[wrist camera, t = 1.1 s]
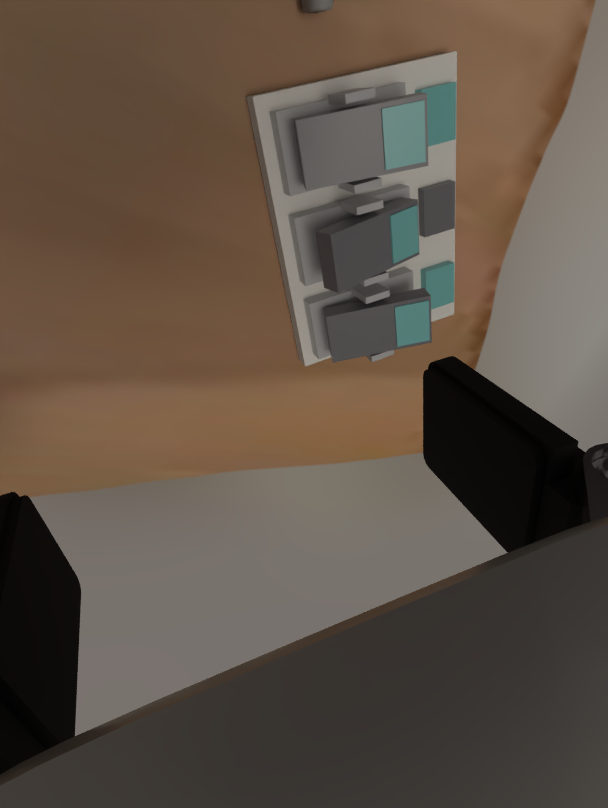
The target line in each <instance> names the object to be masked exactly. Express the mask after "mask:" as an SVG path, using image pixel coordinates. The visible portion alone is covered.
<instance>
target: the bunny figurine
mask: <svg viewBox="0 0 608 808" xmlns="http://www.w3.org/2000/svg"><path fill="white" fill-rule="evenodd" d="M333 1H334V0H301V3H302V8H303V12H308V13H318V12H322V11H326V10H330V9H332V5H333Z"/></svg>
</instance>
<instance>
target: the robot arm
mask: <svg viewBox="0 0 608 808" xmlns="http://www.w3.org/2000/svg"><path fill="white" fill-rule="evenodd" d="M577 446H578V441H577V440H576V439H574V438H573V437H571V436H570V435H568V434H567V433H565V432H564V431H562V430H561V429H560V428H558V427H557V426H555V425H554V424H552V423H550V422H549V421H548V420H546V419H545V418H543V417H542V416H541V415H539V414H538V413H536V412H535V411H533V410H532V409H530V408H529V407H527V406H526V405H524V404H523V403H522V402H520V401H519V400H517V399H515V398H514V397H513V396H511V395H510V394H508V393H507V392H505V391H504V390H503V389H501V388H499V387H498V386H497V385H495V384H494V383H492V382H491V381H489V380H488V379H487V378H485V377H484V376H482V375H481V374H479V373H478V372H476V371H475V370H473V369H472V368H471V367H469V366H468V365H466V364H465V363H463V362H462V361H460V360H459V359H457V358H456V357H454V356H450V357H447V358H444V359H441V360H437V361H434V362H431V363H430V364H429V367H428V370H425V371H424V375H423V454H424V459H425V462H426V464H427V465H428V467H429V468H430V469H431V470H432V471H433V473H434V474H435V475H436V476H437V477H438V478H439V479H440V480H441V481H442V482H443V483H444V484H445V485H446V487H448V489H449V490H450V491H451V492H452V493H453V494H454V495H455V496H456V497H457V498H458V500H459V501H460V502H462V504H463V505H464V506H465V507H466V508H467V509H468V510H469V511H470V512H471V514H472V515H473V516H474V517H475V518H476V519H477V520H478V521H479V522H480V523H481V524H482V525H483V527H484V528H485V529H486V530H487V531H488V532H489V533H490V534H491V535H492V536H493V537H494V538H495V539H496V541H497V542H498V543H499V544H500V545H501V546H502V547H503V548H504V549H505V550H506V551H507V552H508V553H506V554H504V555H501V556H499V557H497V558H494V559H492V560H489V561H487V562H485V563H482V564H480V565H477V566H475V567H472V568H470V569H468V570H465V571H463V572H460V573H458V574H456V575H453V576H451V577H448V578H446V579H443V580H441V581H439V582H436V583H434V584H431V585H429V586H427V587H424V588H422V589H419V590H417V591H414V592H412V593H410V594H407V595H405V596H403V597H400V598H397V599H395V600H393V601H391V602H388V603H386V604H383V605H381V606H379V607H376V608H374V609H371V610H369V611H367V612H364V613H362V614H359V615H357V616H354V617H352V618H350V619H347V620H345V621H343V622H340V623H338V624H335V625H333V626H331V627H328V628H326V629H324V630H321V631H319V632H316V633H314V634H312V635H309V636H307V637H304V638H302V639H300V640H297V641H295V642H293V643H290V644H288V645H286V646H283V647H281V648H279V649H276V650H274V651H272V652H269V653H267V654H264V655H262V656H260V657H257V658H255V659H253V660H250V661H248V662H245V663H243V664H241V665H238V666H236V667H234V668H231V669H229V670H227V671H224V672H222V673H220V674H217V675H215V676H213V677H210V678H208V679H206V680H203V681H201V682H199V683H196V684H194V685H191V686H189V687H187V688H184V689H182V690H180V691H177V692H175V693H173V694H170V695H168V696H166V697H163V698H161V699H158V700H156V701H154V702H152V703H149V704H147V705H145V706H143V707H141V708H138V709H136V710H134V711H131V712H129V713H127V714H125V715H122V716H120V717H118V718H116V719H113V720H111V721H109V722H106V723H104V724H102V725H100V726H97V727H95V728H93V729H91V730H88V731H86V732H84V733H82V734H79V735H77V736H75V717H76V695H77V672H78V649H79V648H78V647H79V628H80V604H81V588H80V583H79V580H78V578H77V576H76V574H75V572H74V571H73V569H72V567H71V566H70V564H69V562H68V561H67V559H66V557H65V556H64V554H63V552H62V551H61V549H60V547H59V546H58V544H57V543H56V541H55V539H54V537H53V536H52V534H51V532H50V531H49V529H48V527H47V526H46V524H45V522H44V521H43V519H42V518H41V516H40V514H39V513H38V511H37V509H36V508H35V506H34V504H33V503H32V501H31V499H30V498H29V497H28V496H26V495H24V496H21V497H19V496H18V494H16V493H15V492H11V493H7V494H4V495H1V496H0V808H608V443H604V444H599V445H595V446H593V447H591V448H589V449H588V450H587V451H586V452H584V451H582V450H581V449H580V448H578V447H577Z"/></svg>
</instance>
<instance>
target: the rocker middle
mask: <svg viewBox="0 0 608 808" xmlns="http://www.w3.org/2000/svg"><path fill="white" fill-rule="evenodd" d="M383 206H384V208H381V209H378V210H374V211H371V212H367V213H364V214H361V215H356V216H353V217H351V218H348V219H346V220H343V221H341V222H338V223H336V224H333V225H331V226H328V227H326V228H323V229H321V230H318V231H316V238H317V244H318V251H319V258H320V264H321V271H322V277H323V284H324V288H326V289H329V290H331V291H334V292H337V293H340V292H342V291H344V290H346V289H348V288H350V287H352V286H354V285H356V284H359V283H361V282H363V281H365V280H367V279H369V278H371V277H373V276H375V275H377V274H380V273H382V272H384V271H386V270H388V269H390V268H392V267H394V266H396V265H399V264H401V263H403V262H405V261H407V260H409V259H411V258H413V257H415V256H418V255H419V224H418V199H410V198H402V197H401V198H399V199H396V200H394V201H391V202H389V203H386V204H384V205H383Z"/></svg>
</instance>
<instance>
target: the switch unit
mask: <svg viewBox="0 0 608 808" xmlns="http://www.w3.org/2000/svg"><path fill="white" fill-rule="evenodd" d="M456 91H457V51H454V52H446V53H441V54H436V55H432V56H427V57H423V58H418V59H414V60H409V61H405V62H400V63H396V64H391V65H387V66H382V67H378V68H373V69H369V70H364V71H360V72H355V73H351V74H346V75H342V76H337V77H333V78H328V79H324V80H319V81H315V82H310V83H306V84H301V85H297V86H292V87H288V88H283V89H279V90H274V91H270V92H265V93H261V94H256V95H252V96H247V97H246V99H247V104H248V108H249V113H250V118H251V123H252V128H253V133H254V138H255V143H256V148H257V153H258V158H259V163H260V168H261V173H262V178H263V183H264V188H265V193H266V198H267V203H268V208H269V213H270V218H271V222H272V227H273V232H274V237H275V242H276V247H277V252H278V257H279V262H280V267H281V272H282V277H283V282H284V287H285V292H286V297H287V302H288V307H289V312H290V317H291V322H292V327H293V332H294V337H295V341H296V346H297V351H298V356H299V360H300V361H301V362H302V363H303V364H304V366H308V365H311V364H314V363H316V362H319V361H322V360H325V359H328V358H331V354H330V349H329V342H328V336H327V330H326V323H325V317H324V311H323V308H327V307H332V306H337V305H342V304H347V303H352V302H357V301H363V302H364V303H365V304H368V303H371V302H374V301H377V300H380V299H383V298H386V297H389V296H390V295H391V294H396V293H401V292H406V291H411V290H416V289H420V288H425V289H426V291H427V292H428V293H429V294H430V295H431V322H433V321H436V320H439V319H442V318H444V317H447V316H450V315H453V314H454V277H455V184H456ZM418 92H420V93H427V123H428V166H425V167H420V168H416V169H411V170H406V171H401V172H396V173H391V174H386V175H382V176H377V177H372V178H367V179H362V180H357V181H352V182H348V183H343V184H338V185H333V186H328V187H323V188H318V189H314V190H309V191H306V189H305V187H304V184H303V178H302V171H301V165H300V158H299V152H298V146H297V139H296V133H295V127H294V120H293V118H297V117H302V116H307V115H311V114H316V113H321V112H326V111H331V110H336V109H340V108H345V107H350V106H355V105H360V104H365V103H369V102H374V101H379V100H384V99H389V98H394V97H398V96H403V95H408V94H413V93H418ZM401 197H402V198H410V199H418V224H419V255H418V256H415V257H413V258H411V259H409V260H407V261H405V262H403V263H401V264H399V265H396V266H394V267H392V268H390V269H388V270H386V271H384V272H382V273H380V274H377V275H375V276H373V277H371V278H369V279H367V280H365V281H363V282H361V283H359V284H356V285H354V286H352V287H350V288H348V289H346V290H344V291H342V292H340V293H337V292H334V291H331V290H329V289H326V288H324V284H323V277H322V271H321V264H320V258H319V251H318V244H317V238H316V231H318V230H321V229H323V228H326V227H328V226H331V225H333V224H336V223H338V222H341V221H343V220H346V219H348V218H351V217H353V216H356V215H361V214H364V213H367V212H371V211H374V210H378V209H381V208H384V206H383V205H384V204H386V203H389V202H391V201H394V200H396V199H399V198H401ZM393 354H394V350H391V351H386V352H381V353H377V354H372V355H367V356H366V357H367V358H368V359H369V360H371V361H372V362H374V361H376V360H379V359H382V358H385V357H388V356H390V355H393Z"/></svg>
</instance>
